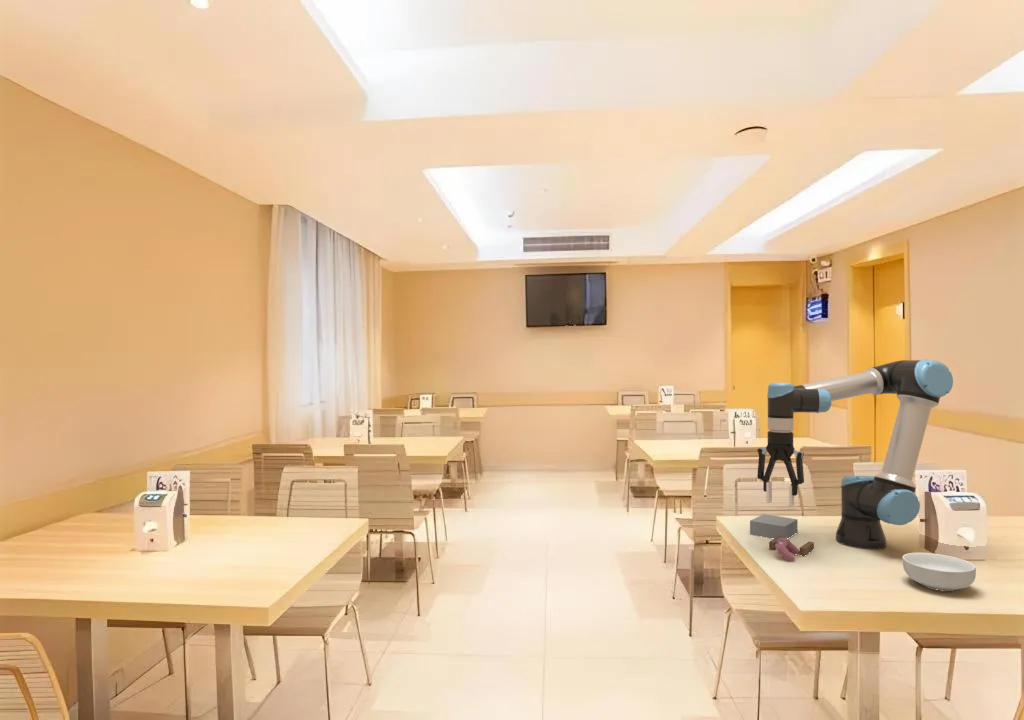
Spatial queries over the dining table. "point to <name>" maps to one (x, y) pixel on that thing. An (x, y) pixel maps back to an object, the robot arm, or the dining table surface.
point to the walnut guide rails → (803, 549)
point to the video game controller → (786, 549)
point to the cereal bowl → (939, 571)
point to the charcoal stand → (773, 526)
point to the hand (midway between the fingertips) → (780, 503)
